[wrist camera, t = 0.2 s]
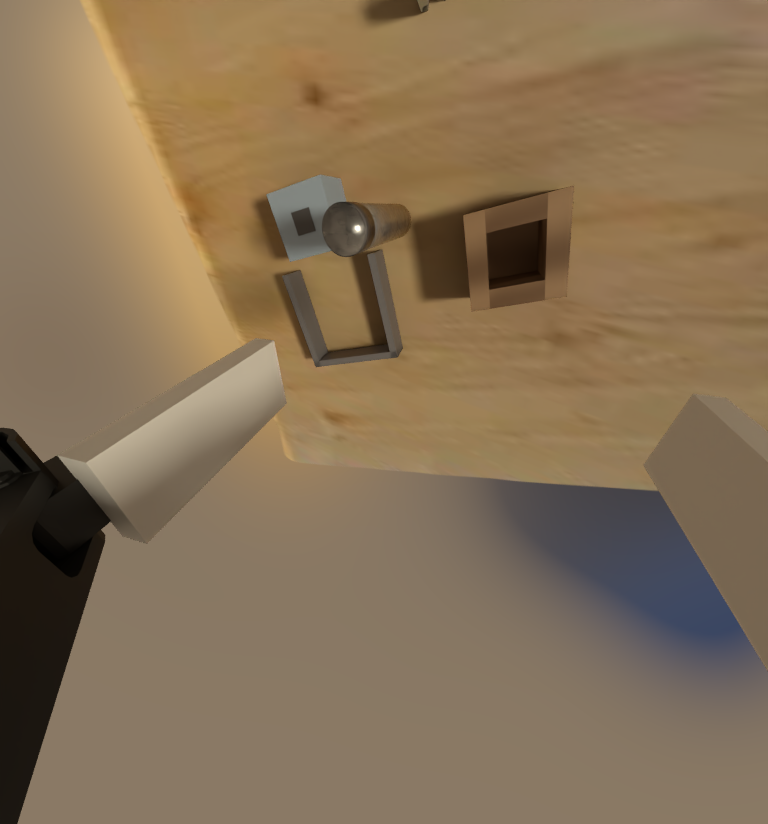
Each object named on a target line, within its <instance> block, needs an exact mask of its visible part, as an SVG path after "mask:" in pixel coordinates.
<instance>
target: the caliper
mask: <svg viewBox="0 0 768 824" xmlns="http://www.w3.org/2000/svg"><path fill="white" fill-rule="evenodd" d="M417 1H418V4H419V7H420V10H421V12H425V11H428V5H429V0H417ZM444 1H445V0H444Z"/></svg>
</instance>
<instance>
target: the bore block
mask: <svg viewBox="0 0 768 824" xmlns="http://www.w3.org/2000/svg"><path fill="white" fill-rule="evenodd" d="M573 194H574V186H570V187H566V188H562V189H558V190H554V191H551V192H547V193H543V194H540V195H536V196H532V197H528V198H525V199H521V200H517V201H513V202H510V203H506V204H502V205H499V206H495V207H491V208H487V209H484V210H480V211H476V212H472V213H469V214H465V215H463V219H464V231H465V243H466V254H467V266H468V278H469V290H470V301H471V312H473V311H479V310H485V309H492V308H498V307H504V306H510V305H517V304H523V303H529V302H536V301H542V300H548V299H554V298H561V297H567V283H568V268H569V254H570V239H571V224H572V209H573Z"/></svg>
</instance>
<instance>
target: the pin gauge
mask: <svg viewBox="0 0 768 824" xmlns="http://www.w3.org/2000/svg"><path fill="white" fill-rule="evenodd" d="M410 225H411V216H410V213H409V211H408V210H407V208H406V207H404V206H403V205H400V204H374V203H357V202H337V203H334V204H333V205H331V206H330V207H329V208H328V209H327V211H326V212H325V214H324V217H323V221H322V233H323V237H324V240H325V242H326V244H327V246H328V247H329V248H330V249H331V250H332V251H333V252H334V253H335V254H337V255H339V256H343V257H350V256H353V255H356V254H358V253H361V252H363V251H365V250H367V249H370V248H372V247H375V246H378V245H381V244H383V243H386V242H389V241H392V240H394V239H397V238H400V237H402V236H404V235H405V234H406V233H407V232H408V231H409V229H410Z"/></svg>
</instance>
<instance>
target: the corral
mask: <svg viewBox="0 0 768 824" xmlns="http://www.w3.org/2000/svg"><path fill="white" fill-rule="evenodd" d="M367 256H368V260H369V265H370V269H371V273H372V277H373V282H374V286H375V290H376V295H377V299H378V303H379V308H380V312H381V316H382V320H383V325H384V329H385V333H386V338H387V342H388V344H385V345H378V346H371V347H363V348H356V349H349V350H341V351H334V352H328V350H327V347H326V344H325V341H324V338H323V335H322V332H321V330H320V327H319V324H318V321H317V318H316V315H315V312H314V309H313V306H312V303H311V300H310V297H309V294H308V291H307V288H306V285H305V282H304V279H303V277H302V274H301V271H300V270H299V271H295V272H292V273H289V274H286V275H284V276H282V277H283V280H284V283H285V285H286V288H287V291H288V293H289V296H290V299H291V302H292V304H293V307H294V310H295V312H296V315H297V318H298V320H299V323H300V326H301V328H302V331H303V334H304V337H305V339H306V342H307V345H308V347H309V350H310V353H311V355H312V358H313V361H314V364H315V366H316V367H320V366H329V365H337V364H345V363H354V362H362V361H371V360H379V359H388V358H396V357H398V356H399V354H400V352H401V350H402V349H403V347H402V342H401V337H400V332H399V328H398V323H397V318H396V313H395V308H394V304H393V299H392V294H391V289H390V285H389V280H388V275H387V270H386V265H385V261H384V256H383V251H382V250H378V251H375V252H372V253H370V254H368V255H367Z"/></svg>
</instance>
